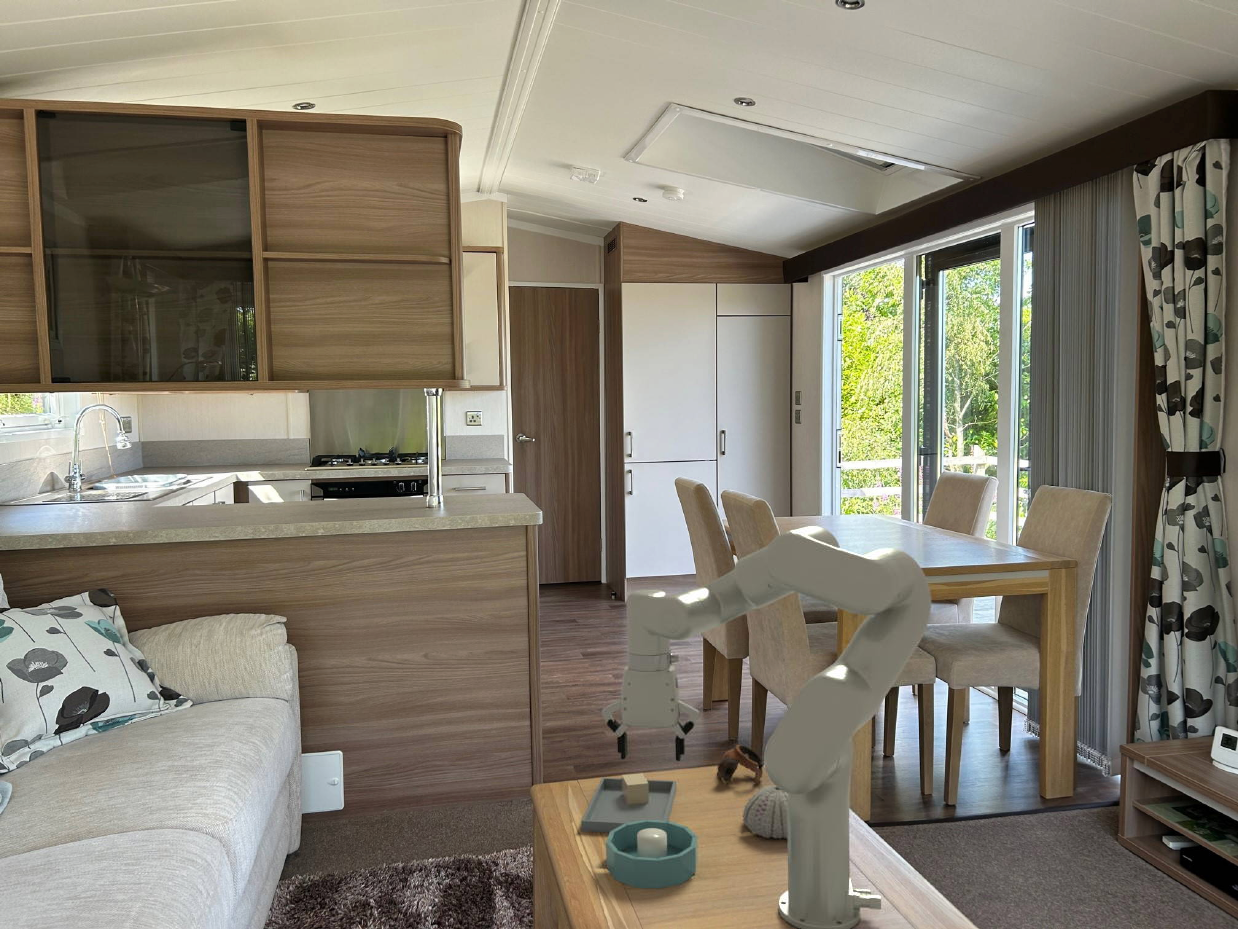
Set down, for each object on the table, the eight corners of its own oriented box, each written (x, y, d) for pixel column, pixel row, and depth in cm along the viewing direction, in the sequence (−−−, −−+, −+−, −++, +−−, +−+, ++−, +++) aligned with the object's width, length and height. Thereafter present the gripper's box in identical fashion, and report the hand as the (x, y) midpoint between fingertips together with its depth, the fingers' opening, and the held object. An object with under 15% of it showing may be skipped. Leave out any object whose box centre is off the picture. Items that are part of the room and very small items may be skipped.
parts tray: (676, 792, 191) (676, 780, 191) (664, 838, 169) (664, 825, 169) (602, 789, 194) (602, 777, 193) (581, 834, 172) (581, 821, 172)
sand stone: (642, 792, 190) (642, 773, 190) (648, 802, 184) (648, 783, 184) (622, 794, 189) (622, 775, 189) (627, 804, 184) (627, 785, 184)
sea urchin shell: (728, 829, 173) (727, 787, 173) (773, 809, 182) (773, 769, 182) (783, 852, 163) (782, 808, 163) (828, 829, 172) (827, 788, 172)
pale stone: (668, 855, 161) (668, 829, 160) (665, 869, 156) (665, 842, 155) (639, 854, 161) (639, 827, 161) (635, 867, 156) (635, 840, 156)
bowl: (700, 848, 165) (699, 822, 165) (693, 891, 150) (692, 862, 149) (615, 843, 168) (615, 818, 167) (600, 885, 152) (600, 857, 152)
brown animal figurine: (725, 770, 205) (744, 740, 204) (756, 798, 199) (775, 767, 198) (698, 772, 195) (717, 741, 194) (730, 802, 190) (750, 769, 189)
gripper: (699, 656, 161) (701, 751, 161) (604, 655, 163) (606, 749, 164) (697, 667, 153) (699, 767, 154) (596, 665, 156) (599, 763, 156)
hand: (651, 757), depth 159 cm, fingers open, 9 cm apart
